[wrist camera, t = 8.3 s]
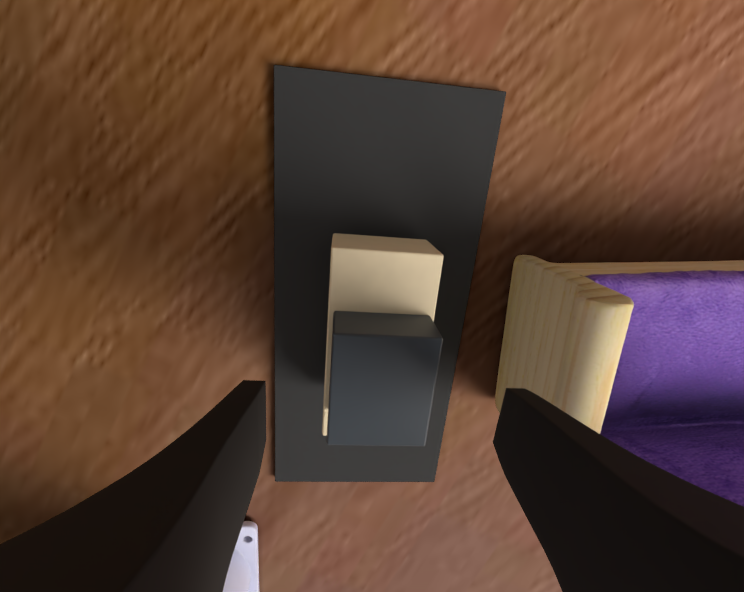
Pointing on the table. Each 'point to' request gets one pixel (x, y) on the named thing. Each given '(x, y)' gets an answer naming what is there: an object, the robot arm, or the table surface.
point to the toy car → (381, 340)
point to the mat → (372, 218)
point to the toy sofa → (637, 358)
